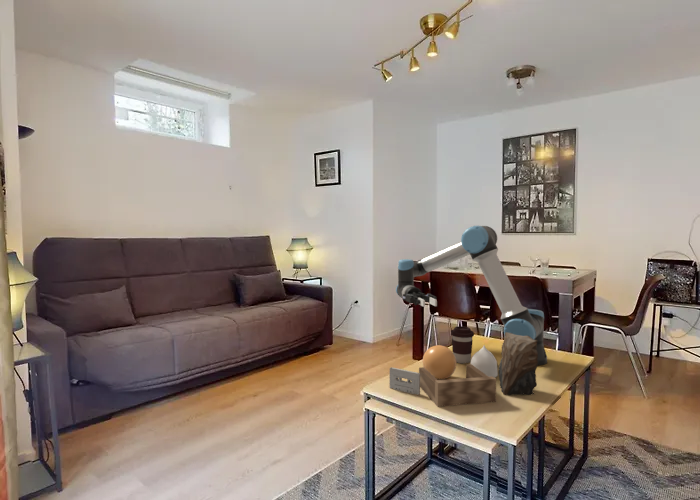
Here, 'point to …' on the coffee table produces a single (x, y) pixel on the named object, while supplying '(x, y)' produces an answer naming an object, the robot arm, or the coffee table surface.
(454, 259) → the robot arm
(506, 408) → the coffee table surface
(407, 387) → the cassette
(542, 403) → the coffee table surface
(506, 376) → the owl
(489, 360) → the teardrop
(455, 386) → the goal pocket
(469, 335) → the coffee cup
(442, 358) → the ball
